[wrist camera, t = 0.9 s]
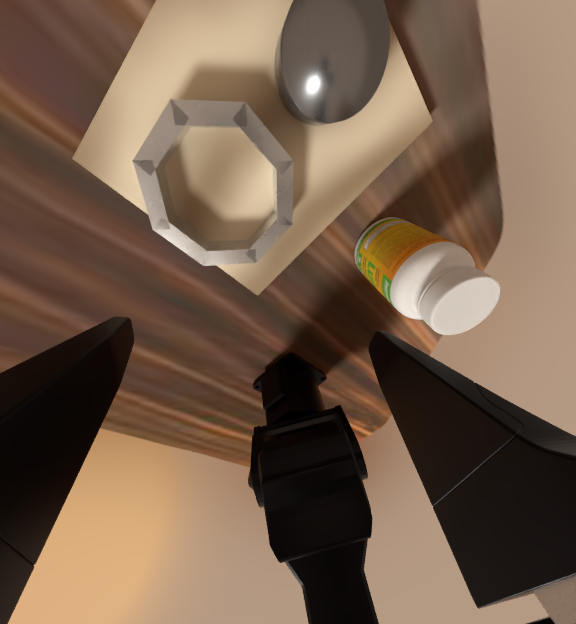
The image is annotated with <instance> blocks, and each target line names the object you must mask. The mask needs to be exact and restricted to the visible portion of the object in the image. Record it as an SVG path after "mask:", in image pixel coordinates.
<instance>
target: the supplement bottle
mask: <svg viewBox="0 0 576 624" xmlns="http://www.w3.org/2000/svg"><path fill="white" fill-rule="evenodd" d="M355 262H356V265H357V267H358V269H359V270H360V271H361V273H362V274H363V275H364V276H365V277H366V278H367V279H368V280H369V281H370V282H371V283H372V284H373V285H374V286H375V287H376V289H377V290H378V291H379V292H380V293H381V294H382V295H383V296H384V297H385V298H386V299H387V300H388V301H389V302H390V303H391V304H392V305H393V306H394V308H396V309H397V310H398V311H399V312H400V313H401V314H403V315H404V316H406V317H409V318H412V319H423V320H424V321H425V322H426V323H427V324H428V325H429V326H430V327H431V328H432V329H433V330H434V331H436V332H437V333H440V334H443V335H454V334H459V333H462V332H464V331H467V330H469V329H471V328H473V327H474V326H476V325H477V324H479V323H480V322H481V321H482V320H484V319H485V318H486V317H487V316H488V315H489V314H490V312H491V311H492V310H493V309H494V307H495V306H496V304H497V302H498V300H499V296H500V285H499V283H498V282H497V280H496V279H494V278H493V277H491V276H490V275H488V274H486V273H484V272H483V271H481V270H480V269H477V268H475V263H474V260H473V258H472V256H471V255H470V253H469V252H468V251H467V250H466V249H464V248H463V247H461V246H459V245H457V244H455V243H453V242H451V241H449V240H447V239H445V238H442V237H440V236H438V235H436V234H434V233H431V232H429V231H427V230H425V229H423V228H421V227H418V226H416V225H414V224H412V223H410V222H408V221H406V220H403V219H401V218H396V217H389V218H384V219H381V220H379V221H377V222H375V223H373V224H372V225H371V226H369V227H368V228H367V229H366V230H365V231H364V233H363V234H362V235H361V237H360V238H359V240H358V242H357V245H356V248H355Z"/></svg>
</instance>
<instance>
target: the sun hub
mask: <svg viewBox="0 0 576 624" xmlns="http://www.w3.org/2000/svg"><path fill="white" fill-rule="evenodd" d="M389 47H390V26H389V19H388V13H387V9H386V5H385V2H384V0H293V2H292V4H291V6H290V9H289V11H288V14H287V17H286V19H285V22H284V24H283V27H282V30H281V32H280V35H279V38H278V41H277V46H276V51H275V60H274V70H275V79H276V85H277V89H278V92H279V95H280V97H281V99H282V101H283V103H284V105H285V107H286V108H287V110H288V111H289V112H290V113H291V114H292V115H293V116H294V117H295V118H296V119H298V120H299V121H300V122H303V123H305V124H308V125H312V126H322V125H326V124H331V123H336V122H340V121H344V120H347V119H349V118H351V117H353V116H354V115H356V114H357V113H358V112H360V111H361V110H362V109H363V108H364V107H365V106H366V105H367V104H368V102H369V101H370V100H371V99H372V97H373V95H374V94H375V92H376V90H377V89H378V87H379V85H380V82H381V80H382V77H383V75H384V72H385V68H386V65H387V60H388V54H389Z"/></svg>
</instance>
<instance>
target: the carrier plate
mask: <svg viewBox="0 0 576 624" xmlns="http://www.w3.org/2000/svg"><path fill="white" fill-rule="evenodd" d="M292 2H293V0H156V2H155V4H154V6H153V7H152V9H151V11H150V13H149V15H148V17H147V19H146V21H145V23H144V24H143V26H142V28H141V30H140V32H139V34H138V36H137V38H136V39H135V41H134V43H133V45H132V47H131V49H130V51H129V53H128V55H127V56H126V58H125V60H124V62H123V64H122V66H121V68H120V70H119V72H118V73H117V75H116V77H115V79H114V81H113V83H112V85H111V87H110V89H109V90H108V92H107V94H106V96H105V98H104V100H103V102H102V104H101V106H100V107H99V109H98V111H97V113H96V115H95V117H94V119H93V121H92V122H91V124H90V126H89V128H88V130H87V132H86V134H85V136H84V138H83V139H82V141H81V143H80V145H79V147H78V149H77V151H76V153H75V155H74V156H73V158H72V159H74V160H75V161H76V162H78V163H79V164H80V165H82V166H83V167H84V168H86V169H87V170H88V171H90V172H91V173H92V174H94V175H95V176H97V177H98V178H99V179H101V180H102V181H103V182H105V183H106V184H107V185H109V186H110V187H111V188H113V189H114V190H115V191H117V192H118V193H119V194H121V195H122V196H124V197H125V198H126V199H128V200H129V201H130V202H132V203H133V204H134V205H136V206H137V207H138V208H140V209H141V210H142V211H144V212H145V213H147V214H148V211H147V208H146V204H145V201H144V198H143V194H142V191H141V188H140V184H139V181H138V178H137V174H136V171H135V167H134V164H133V161H132V160H133V159H134V157H135V156H136V154H137V152H138V151H139V149H140V148H141V146H142V144H143V143H144V141H145V140H146V138H147V136H148V135H149V133H150V132H151V130H152V128H153V127H154V125H155V123H156V122H157V120H158V119H159V117H160V115H161V114H162V112H163V111H164V109H165V107H166V106H167V104H168V103H169V101H170V99H179V100H206V101H233V102H246V103H247V104H248V106H249V107H250V108H251V109H252V111H253V112H254V113H255V114H256V115H257V117H258V118H259V119H260V120H261V122H262V123H263V124H264V125H265V127H266V128H267V129H268V130H269V131H270V133H271V134H272V135H273V136H274V138H275V139H276V140H277V141H278V142H279V144H280V145H281V146H282V147H283V149H284V150H285V151H286V152H287V153H288V155H289V156H290V157H291V158H292V160H293V161H294V169H293V218H292V224H293V225H292V226H291V227H290V228H289V229H288V230H287V231H286V232H285V233H284V234H283V235H282V236H281V237H280V238H279V239H278V240H277V241H276V243H275V244H274V245H273V246H272V247H271V248H270V249H269V250H268V251H267V252H266V253H265V254H264V255H263V256H262V257H261V258H260V259H259V260H258V262H257V263H244V264H226V265H217V266H218V267H220V268H221V269H222V270H224V271H225V272H226V273H228V274H229V275H230V276H232V277H233V278H234V279H236V280H237V281H238V282H240V283H241V284H243V285H244V286H245V287H247V288H248V289H249V290H251V291H252V292H253V293H255V294H256V295H257V296H258V295H259V294H260V293H261V292H262V291H263V290H264V289H265V288H266V287H267V286H268V285H269V284H270V283H271V282H272V281H273V280H274V279H275V278H276V277H277V276H278V275H279V274H280V273H281V272H282V271H283V270H284V269H285V268H286V267H287V266H288V265H289V264H290V263H291V262H292V261H293V260H294V259H295V258H296V257H297V256H298V255H299V254H300V253H301V252H302V251H303V250H304V249H305V248H306V247H307V246H308V245H309V244H310V243H311V242H312V241H313V240H314V239H315V238H316V237H317V236H318V235H319V234H320V233H321V232H322V231H323V230H324V229H325V228H326V227H327V226H328V225H329V224H330V223H331V222H332V221H333V220H334V219H335V218H336V217H337V216H338V215H339V214H340V213H341V212H342V211H343V210H344V209H345V208H346V207H347V206H348V205H349V204H350V203H351V202H352V201H353V200H354V199H355V198H356V197H357V196H358V195H359V194H360V193H361V192H362V191H363V190H364V189H365V188H366V187H367V186H368V185H369V184H370V183H371V182H372V181H373V180H374V179H375V178H376V177H377V176H378V175H379V174H380V173H381V172H382V171H383V170H384V169H385V168H386V167H387V166H388V165H389V164H391V163H392V162H393V161H394V160H395V159H396V158H397V157H398V156H399V155H400V154H401V153H402V152H403V151H404V150H405V149H406V148H407V147H408V146H409V145H410V144H411V143H412V142H413V141H414V140H415V139H416V138H417V137H418V136H419V135H420V134H421V133H422V132H423V131H424V130H425V129H426V128H427V127H428V126H429V125H430V124H431V123H432V122H433V120H432V118H431V116H430V113H429V111H428V109H427V107H426V104H425V102H424V100H423V97H422V95H421V93H420V90H419V88H418V86H417V83H416V81H415V79H414V76H413V74H412V72H411V69H410V67H409V65H408V62H407V60H406V58H405V55H404V53H403V51H402V48H401V46H400V44H399V41H398V39H397V37H396V35H395V32H394V30H393V28H392V25H391V23H390V21H389V26H390V47H389V54H388V60H387V65H386V68H385V72H384V75H383V77H382V80H381V82H380V85H379V87H378V89H377V90H376V92H375V94H374V95H373V97H372V99H371V100H370V101H369V102H368V104H367V105H366V106H365V107H364V108H363V109H362V110H361V111H360V112H358V113H357V114H356V115H354V116H353V117H351V118H349V119H347V120H344V121H340V122H336V123H331V124H326V125H322V126H312V125H308V124H305V123H303V122H300V121H299V120H298V119H296V118H295V117H294V116H293V115H292V114H291V113H290V112H289V111H288V110H287V108H286V107H285V105H284V103H283V101H282V99H281V97H280V95H279V92H278V89H277V85H276V79H275V70H274V60H275V51H276V46H277V41H278V38H279V35H280V32H281V30H282V27H283V24H284V22H285V19H286V17H287V14H288V11H289V9H290V6H291V4H292ZM388 19H389V18H388ZM164 168H165V172H166V177H167V181H168V185H169V189H170V193H171V198H172V202H173V206H174V210H175V214H176V215H177V216H178V217H180V218H181V219H182V220H184V221H185V222H186V223H187V224H189V225H190V226H191V227H192V228H194V229H195V230H196V231H198V232H199V233H200V234H201V235H203V236H204V237H205V238H206V239H208V240H209V241H231V240H248V239H249V238H250V237H251V236H252V235H253V234H254V233H255V232H256V230H257V229H258V228H259V227H260V226H261V225H262V224H263V223H264V222H265V220H266V219H267V218H268V217H269V216H270V215H271V214H272V213H273V212H274V211H273V167H272V166H271V164H270V163H269V162H268V161H267V160H266V159H265V158H264V156H263V155H262V154H261V153H260V152H259V151H258V150H257V148H256V147H255V146H254V145H253V144H252V143H251V142H250V141H249V139H248V138H247V137H246V136H245V135H244V134H243V133H242V131H241V130H240V129H234V128H190V129H189V131H188V132H187V134H186V135H185V137H184V138H183V140H182V141H181V143H180V144H179V146H178V147H177V148H176V150H175V151H174V153H173V154H172V156H171V157H170V159H169V160H168V162H167V163H166V165H165V166H164Z"/></svg>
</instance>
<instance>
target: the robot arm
mask: <svg viewBox="0 0 576 624" xmlns="http://www.w3.org/2000/svg"><path fill="white" fill-rule="evenodd" d="M133 344H134V334H133V328H132V323H131V320H130V318H128V317H113V318H111V319H109V320H107V321H105V322H103V323H101V324H99V325H97V326H95V327H93V328H91V329H89V330H87V331H85V332H82V333H80V334H78V335H76V336H74V337H72V338H70V339H68V340H66V341H64V342H62V343H60V344H58V345H56V346H54V347H52V348H50V349H48V350H46V351H44V352H42V353H40V354H38V355H36V356H34V357H32V358H30V359H28V360H26V361H24V362H22V363H20V364H18V365H16V366H14V367H12V368H10V369H8V370H6V371H4V372H2V373H0V624H8V622H9V619H10V617H11V615H12V613H13V611H14V609H15V607H16V605H17V603H18V600H19V598H20V596H21V594H22V592H23V590H24V588H25V586H26V583H27V581H28V579H29V577H30V575H31V573H32V571H33V569H34V564H35V563H36V562H37V560H38V558H39V556H40V553H41V551H42V549H43V547H44V545H45V543H46V541H47V539H48V537H49V534H50V532H51V530H52V528H53V526H54V524H55V522H56V520H57V517H58V515H59V513H60V511H61V509H62V507H63V505H64V503H65V501H66V498H67V496H68V494H69V492H70V490H71V488H72V486H73V484H74V482H75V480H76V477H77V475H78V473H79V471H80V469H81V467H82V465H83V463H84V461H85V458H86V456H87V454H88V452H89V450H90V448H91V445H92V444H93V442H94V439H95V437H96V435H97V433H98V431H99V429H100V427H101V425H102V423H103V420H104V418H105V416H106V414H107V412H108V410H109V408H110V406H111V404H112V401H113V399H114V397H115V395H116V393H117V391H118V389H119V386H120V384H121V381H122V378H123V375H124V372H125V369H126V366H127V363H128V360H129V357H130V354H131V351H132V348H133ZM369 354H370V357H371V360H372V363H373V367H374V370H375V373H376V376H377V379H378V382H379V385H380V387H381V389H382V392H383V394H384V396H385V399H386V401H387V403H388V406H389V408H390V410H391V412H392V415H393V417H394V419H395V422H396V424H397V426H398V428H399V431H400V433H401V435H402V438H403V440H404V442H405V444H406V447H407V449H408V451H409V454H410V456H411V458H412V460H413V463H414V465H415V467H416V469H417V472H418V474H419V476H420V479H421V481H422V483H423V486H424V488H425V490H426V492H427V495H428V497H429V499H430V502H431V504H432V506H434V507H433V509H434V511H435V513H436V515H437V518H438V520H439V522H440V525H441V527H442V530H443V532H444V534H445V536H446V538H447V541H448V543H449V546H450V548H451V550H452V552H453V555H454V557H455V559H456V562H457V564H458V566H459V569H460V570H461V573H462V575H463V577H464V580H465V582H466V584H467V587H468V589H469V591H470V594H471V596H472V598H473V600H474V602H475V604H476V606H477V608H483V607H486V606H490V605H493V604H497V603H500V602H504V601H508V600H511V599H515V598H519V597H522V596H526V595H529V594H533V593H534V594H535V595H536V597H537V598H538V600H539V601H540V603H541V604H542V605H543V607H544V608H545V610H546V612H547V613H548V614H549V617H546V618H542V619H539V620H536V621H533V622H530V623H527V624H576V436H574V435H572V434H570V433H568V432H566V431H563V430H562V429H560V428H558V427H556V426H554V425H552V424H550V423H548V422H547V421H545V420H542V419H541V418H539V417H537V416H535V415H533V414H531V413H530V412H528V411H526V410H524V409H522V408H520V407H518V406H516V405H515V404H513V403H511V402H509V401H507V400H505V399H503V398H502V397H500V396H498V395H496V394H495V393H493V392H491V391H489V390H488V389H486V388H484V387H482V386H481V385H479V384H477V383H474V382H473V381H472V380H470V379H468V378H467V377H465V376H463V375H461V374H460V373H458V372H456V371H455V370H453V369H451V368H449V367H448V366H446V365H444V364H443V363H441V362H439V361H437V360H436V359H434V358H432V357H430V356H429V355H427V354H425V353H424V352H422V351H420V350H418V349H417V348H415V347H413V346H411V345H410V344H408V343H406V342H405V341H403V340H401V339H399V338H398V337H396V336H394V335H392V334H391V333H389V332H387V331H376V332H375V334H374V336H373V338H372V340H371V342H370V345H369ZM291 357H292V358H291ZM326 379H327V377H326V374H325V373H323V372H322V371H320V370H319V369H317V368H315V367H314V366H312V365H311V364H309V363H308V362H306V361H305V360H303V359H301V358H300V357H298V356H297V355H295V354H294V353H289V354H288V355H286V356H285V357H284V358H283V359H282V360H280V361H279V362H278V363H277V364H276V365H274V366H273V367H272V368H271V369H270V370H268V371H267V372H266V373H265V374H264V375H262V376H261V377H260V378H259V379H258V380H257V381H255V382H254V383H253V388H254V389H255V390H257V391H259V392H261V393H262V400H263V409H264V410H266V420H267V425H265V426H261V427H260V426H258V427H254V435H253V436H252V452H251V468H250V473H249V477H248V484H249V487H250V488H252V489H253V490H254V493H255V496H256V500H257V502H258V505H259V507H264V509H265V516H266V521H267V528H268V534H269V543H270V546H271V548H272V550H273V552H274V554H275V556H276V558H277V559H278V561H279V562H280V563H282V562H285V563H286V564H287V566H288V567H289V569H290V570H291V571H292V573H293V574H294V576H295V577H296V579H297V580H298V582H299V583H300V585H301V587H302V589H303V594H304V600H305V605H306V611H307V617H308V622H309V624H379V623H378V619H377V616H376V612H375V609H374V605H373V602H372V598H371V594H370V591H369V587H368V583H367V580H366V576H365V573H364V563H365V556H366V548H367V540H368V538H370V537H371V532H372V515H371V508H370V504H369V501H368V498H367V495H366V491H365V488H364V484H363V481H362V480H364V479H367V478H368V474H367V469H366V465H365V461H364V458H363V455H362V451H361V449H360V446H359V443H358V441H357V438H356V436H355V434H354V432H353V430H352V428H351V426H350V424H349V422H348V420H347V418H346V416H345V414H344V412H343V410H342V408H341V405H338V406H335V408H331V409H327V410H325V406H324V403H323V400H322V397H321V394H320V391H319V388H318V385H320V384H321V383H322V382H324V381H325V380H326Z"/></svg>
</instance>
